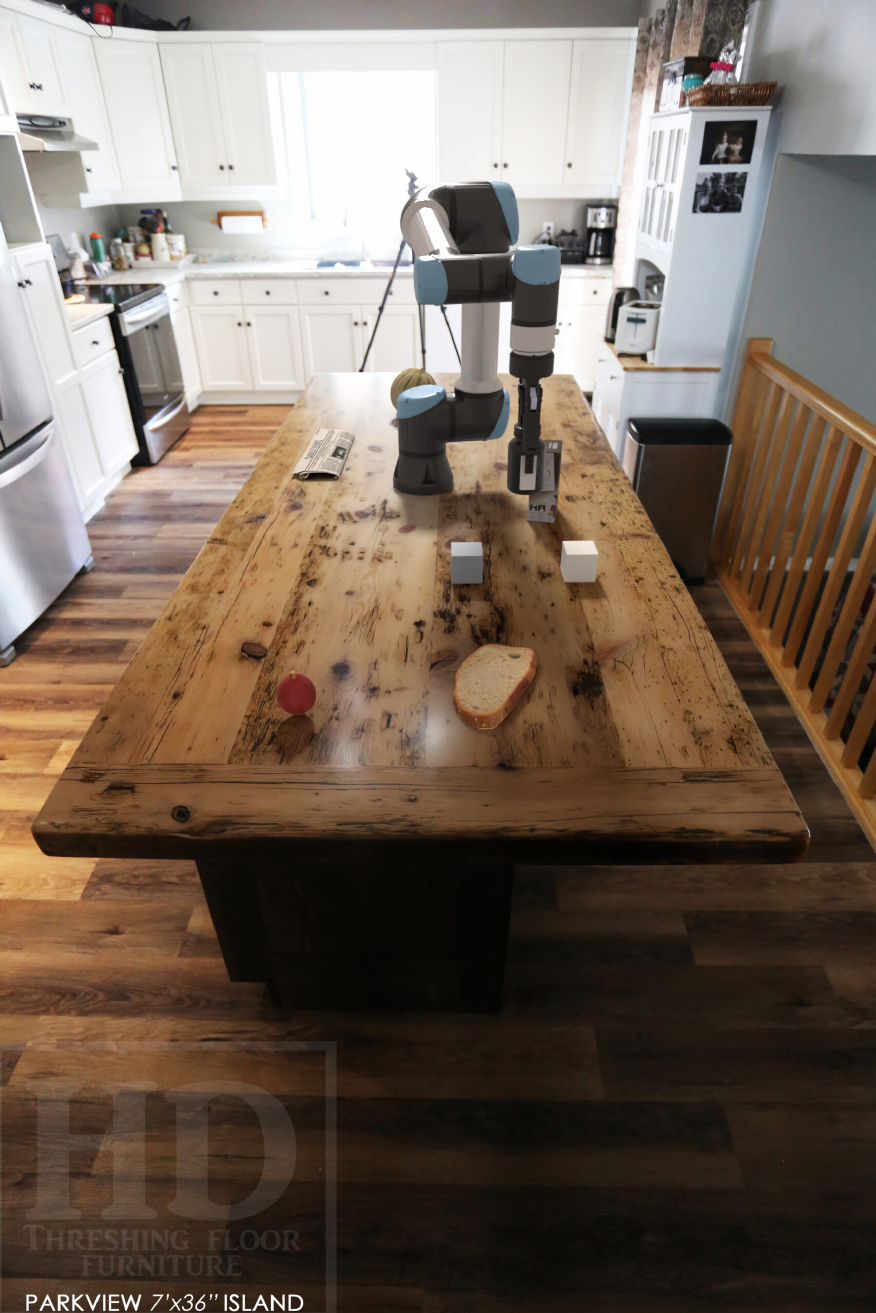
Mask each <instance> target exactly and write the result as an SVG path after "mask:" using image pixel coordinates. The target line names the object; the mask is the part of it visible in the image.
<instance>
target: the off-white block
mask: <svg viewBox="0 0 876 1313" xmlns="http://www.w3.org/2000/svg"><path fill="white" fill-rule="evenodd" d="M561 545H562V546H561V547H562V548H561V554H560V555H561V558H560V568H559V569H560V572H561V575H562V578H563V583H596V579H597V573H598V572H597V571H598V570H597V569H598V561H599V552H598V550H597V547H596V543H595V541H594V540H563V541H562V544H561Z"/></svg>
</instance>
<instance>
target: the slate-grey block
mask: <svg viewBox="0 0 876 1313" xmlns="http://www.w3.org/2000/svg"><path fill="white" fill-rule="evenodd" d="M483 554H484V551H483V545H482V541H475V542H474V541H472V542H469V541H468V542H464V541H463V542H460V541H459V542H454V541H453V542H450V568H451V569H450V572H451V574H450V576H451V578H450V580H451V585H452V584H456V585H458V584H459V585H461V584H483V576H484V575H483V573H484V571H483V570H484V555H483Z"/></svg>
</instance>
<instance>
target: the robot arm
mask: <svg viewBox="0 0 876 1313" xmlns="http://www.w3.org/2000/svg"><path fill="white" fill-rule="evenodd" d="M519 215H520V214H519V207H518V202H517V197H516V193H515V191H514V188H513V187H512V185H511V184H510V183H509V182H506V181H499V180H489V179H488V180H474V181H473V180H472V181H471V180H470V181H469V180H468V181H449V182H448V181H441V182H440V181H438V182H434V183H430V184H428V185H425V186H424V187H422V188H420V189H419V190H417V191H416V192H415V193H413V195H411V196H410V197H409V199H408V200H407V201H406V203H404V206H403V208H402V210H401V213H400V218H399V226H400V232H401V235H402V237H403V240H404V242H405V244H406V245H407V246H408V248H410V249H412V250H413V252H414V256H415V257H416V258H415V260H414V263H413V290H414V297H415V300H416V302H417V303H418V304H419V305H422V306H423V305H424V306H426V305H427V306H435V307H439V306H449V305H461V321H460V322H461V327H460V330H461V331H460V333H461V335H460V337H461V338H460V340H461V341H460V376H459V377H458V379H457V380H455V382H454V385H453V391H447V389H446V388H445V387H444V385H440V384H437V385H422V386H417V387H413V388H410V389H408V390H406V391H404V392H402V393H401V394H400V395H399V397H398V399H397V410H396V414H395V415H396V418H397V437H398V438H397V440H398V442H397V444H398V457H397V461H396V464H395V467H394V472H393V475H392V483H393V484H392V485H393V486H392V487H394V489H396V490H397V491H398V492H400V493H403V494H407V495H413V496H414V495H415V496H429V495H431V496H432V495H436V494H441V493H444V492H446V491H448V490H450V489H451V488H453V485H454V474H453V472H452V471H453V470H452V468H451V465H450V461H449V458H448V456H447V447H446V446H447V444H448V443H461V442H462V443H463V442H486V441H491V440H498V439H500V438H502V437H503V436H504V434H505V432H506V430H507V427H508V424H509V420H510V415H511V414H510V413H511V406H510V404H511V396H510V393H509V391H508V390H507V389H505V388H504V382H503V381H502V380H501V379H500V378H499V377H498V364H499V362H498V361H499V346H500V345H499V342H500V341H499V340H500V338H499V337H500V315H501V303H511V317H510V319H511V320H510V328H509V329H510V330H509V331H510V332H509V348H510V349H511V351H510V353H509V358H508V359H509V360H508V361H509V364H508V372H509V374H510V375H511V376H512V377H514V378H518V384H517V394H518V398H517V401H518V402H517V405H518V410H517V412H518V413H517V423H518V422H522V421H523V450H522V452H518V456H521V468H520V490H535V479H536V463H537V455H539V432H540V424H541V412H542V402H543V395H544V390H543V389H544V387H542V383H540V380H542V379H547V378H549V377H551V376H552V375H553V374H554V368H555V367H554V366H555V352H554V351H553V350H554V349H555V348H556V337H555V336H558V335H560V329H559V328H558V327H557V322H558V320H557V318H558V311H559V310H558V308H559V294H560V282H561V281H560V280H561V277H562V276H561V275H562V268H561V267H562V266H561V265H562V264H561V263H562V262H561V260H562V259H561V258H562V253H561V250H560V249H559V247H557V246H555V245H548V244H524V245H520V246H517V247H516V248H515V249H513V250H510V246H512V247H513V246H515V245H517V244H518V241H519V235H520V216H519Z"/></svg>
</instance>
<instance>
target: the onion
mask: <svg viewBox="0 0 876 1313" xmlns="http://www.w3.org/2000/svg"><path fill="white" fill-rule="evenodd" d="M316 700H317V688H316V687H315V684H314V683H313V681H312V680H311V679H310V678H309V677H308V676H306V675H304V674H303V673H299V672H297V671H290V672H289V674H288V675H286V676H285V677H283V678H282V679H281V681H280V683H279V684H278V686H277V689H276V702H277V704H278V705H279V707H280V709H281V710H282V711H284V712H286V713H288V714H290V715H293V716H296V717H299V716H300V717H301V716H303V715H304V714H306V713H307V712H308V711H309V710H311V709H312V707H314V706H315V704H316Z"/></svg>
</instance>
